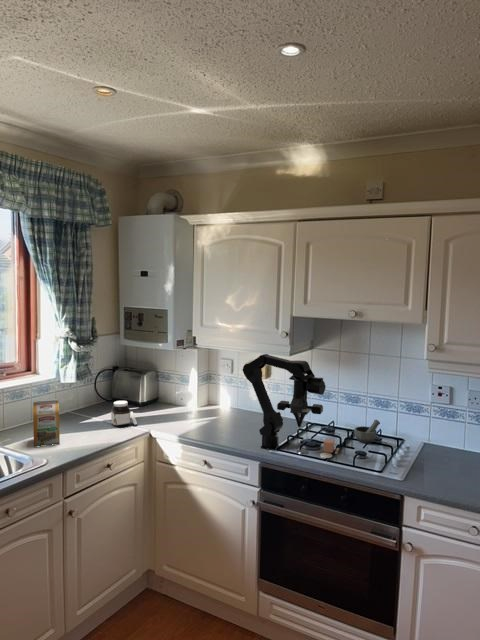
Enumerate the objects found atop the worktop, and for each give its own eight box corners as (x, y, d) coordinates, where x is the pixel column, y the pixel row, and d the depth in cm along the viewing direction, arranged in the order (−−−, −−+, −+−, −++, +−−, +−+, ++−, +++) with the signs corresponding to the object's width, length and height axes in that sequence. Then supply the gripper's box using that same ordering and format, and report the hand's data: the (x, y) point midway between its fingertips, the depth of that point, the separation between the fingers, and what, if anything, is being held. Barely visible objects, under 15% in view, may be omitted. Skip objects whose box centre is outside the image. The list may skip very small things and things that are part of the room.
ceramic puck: (318, 460, 202) (319, 456, 202) (321, 455, 207) (321, 452, 207) (330, 461, 201) (331, 458, 201) (333, 457, 205) (333, 453, 205)
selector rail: (295, 451, 212) (295, 447, 212) (298, 446, 218) (298, 443, 217) (336, 457, 206) (337, 453, 206) (339, 452, 211) (339, 448, 211)
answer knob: (323, 451, 209) (323, 442, 208) (325, 448, 212) (325, 439, 212) (332, 452, 207) (333, 443, 207) (334, 449, 211) (334, 440, 211)
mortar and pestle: (352, 446, 219) (353, 420, 218) (354, 439, 228) (355, 414, 227) (378, 449, 216) (379, 423, 215) (379, 442, 225) (380, 417, 223)
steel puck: (295, 456, 206) (295, 452, 206) (298, 452, 210) (298, 449, 210) (307, 458, 204) (307, 454, 204) (309, 454, 209) (309, 450, 209)
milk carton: (33, 447, 213) (32, 404, 211) (34, 439, 222) (33, 398, 221) (59, 444, 217) (58, 402, 215) (58, 436, 226) (58, 396, 225)
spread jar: (109, 424, 247) (108, 401, 246) (129, 419, 254) (129, 398, 253) (120, 429, 238) (120, 406, 237) (140, 425, 245) (140, 402, 244)
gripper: (273, 393, 202) (273, 429, 203) (318, 397, 195) (317, 435, 197) (281, 387, 212) (280, 422, 213) (323, 391, 206) (322, 427, 207)
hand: (299, 427), depth 207 cm, fingers closed
